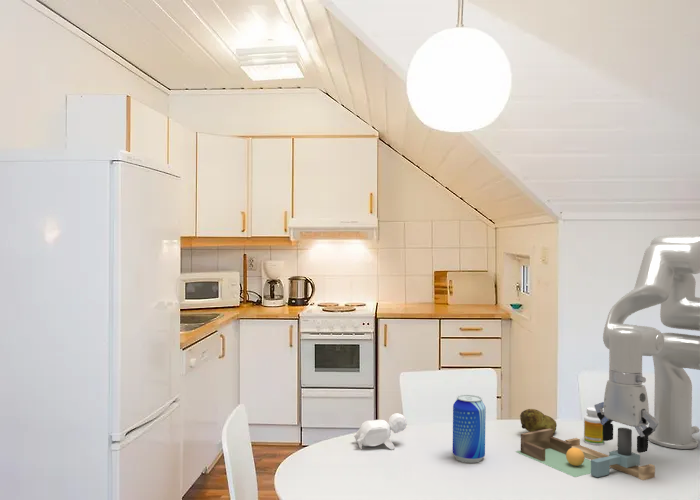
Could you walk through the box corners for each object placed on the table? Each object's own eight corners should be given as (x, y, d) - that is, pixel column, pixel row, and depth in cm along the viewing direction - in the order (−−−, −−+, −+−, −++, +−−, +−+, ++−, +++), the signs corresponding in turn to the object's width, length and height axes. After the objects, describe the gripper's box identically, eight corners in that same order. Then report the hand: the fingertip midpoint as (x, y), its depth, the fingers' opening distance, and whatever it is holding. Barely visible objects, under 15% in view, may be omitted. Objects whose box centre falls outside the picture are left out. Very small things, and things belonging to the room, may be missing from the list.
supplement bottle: (606, 446, 164) (606, 412, 164) (585, 445, 165) (586, 410, 165) (601, 440, 169) (602, 407, 169) (582, 439, 170) (582, 406, 170)
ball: (574, 461, 151) (574, 444, 151) (588, 466, 148) (588, 449, 148) (562, 463, 149) (562, 446, 149) (576, 469, 145) (576, 452, 145)
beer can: (490, 458, 153) (491, 397, 153) (474, 466, 147) (475, 403, 147) (463, 450, 159) (464, 392, 159) (446, 458, 153) (447, 397, 153)
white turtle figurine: (365, 462, 158) (415, 439, 160) (355, 434, 157) (405, 411, 160) (359, 451, 166) (407, 430, 168) (349, 424, 165) (397, 403, 168)
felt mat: (549, 445, 164) (549, 444, 164) (610, 469, 147) (610, 468, 147) (515, 452, 158) (515, 451, 158) (574, 477, 141) (574, 477, 141)
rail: (576, 448, 162) (576, 437, 162) (654, 477, 141) (654, 465, 141) (565, 450, 160) (565, 440, 160) (643, 481, 139) (643, 468, 139)
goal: (549, 446, 163) (549, 428, 163) (571, 454, 156) (571, 436, 156) (520, 452, 158) (520, 433, 158) (541, 461, 151) (542, 441, 151)
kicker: (622, 463, 149) (622, 425, 150) (639, 470, 145) (640, 430, 145) (585, 472, 143) (585, 432, 143) (602, 479, 139) (603, 438, 139)
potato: (566, 438, 171) (567, 411, 171) (527, 441, 168) (527, 413, 168) (551, 429, 179) (551, 403, 179) (513, 432, 176) (513, 405, 176)
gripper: (667, 383, 140) (666, 454, 140) (605, 370, 156) (605, 434, 155) (647, 386, 137) (646, 459, 137) (586, 372, 152) (585, 438, 152)
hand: (624, 445), depth 146 cm, fingers open, 9 cm apart
